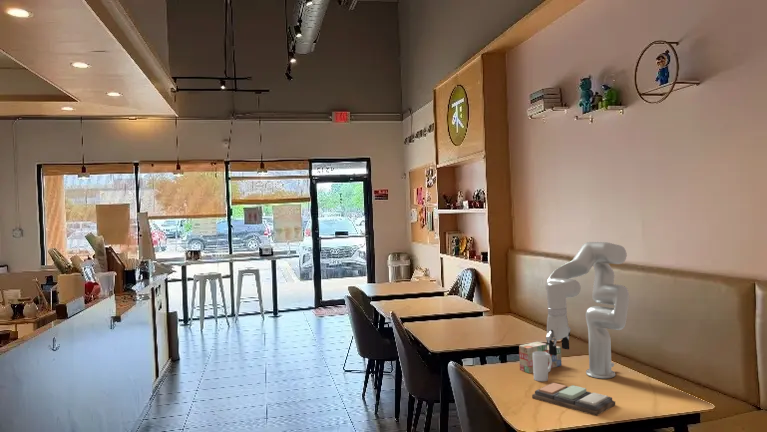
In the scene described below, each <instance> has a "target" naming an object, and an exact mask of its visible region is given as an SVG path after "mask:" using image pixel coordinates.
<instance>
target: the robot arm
mask: <svg viewBox="0 0 767 432" xmlns="http://www.w3.org/2000/svg"><path fill="white" fill-rule="evenodd" d="M627 256H628V255H627V250H626V248H625V247H624V246H622V245H620V244H615V243H611V242H605V241H586V242H585V243H582V245H581V246H580V247H579V249H578V251H577V252H576V253H575V255H574V256H573V258H572V260H571V261H568V262H566V263H564V264H562V265H560V266H558V267H556V268H555V269H554V270H553V271H552V272H551V274H550V275H549V276H548V278H547V280H546V282H545V290H546V301H547V317H546V318H547V320H546V336H545V339H546V344H547V346H548V345H549V354H550V355H555V356H556V355H557V348H556V346H557V345H556V344H557V341H561V349H563V350H570V335H571V327H569V321H568V313H567V312H568V311H567V298H574V297H576V296H578V295H579V294H580V292H581V284H580V282H579V281H578V280H576V279H574V278H577V277H582V276H585V275H587V274H588V273H589V272H590V271H591V269H592V268H593V270H594V279H593V284H592V285H593V287H592V294H591V296H592V297H591V298H592V300H593V301H594V302H595V303H597V304H602V305H608V306H609V305H610V306H613V307H608V306H599V305H593V306H589V307H588V308H587V309H586V311H585V321H586V322H585V323H586V325H587V333H588V337H587V338H588V359H589V362H588V363H589V364H588V365H589V367H588V369H586V370H585V373H586V375H587V376H589V377H591V378H595V379H611V378H614V377H616V372H615V371H614V370H612V368H613V367H614V366H615V363H614V362H612V346H611V344H612V343H611V340H612V339H611V335H610V332H609V330H616V331H621V330H623V329H624V328H625V326H626V324H627V318H628V311H629V303H630V293H629V290H628V288H627V287H626V286H624V285H622V284H616V283H614V281H615V272H614V270H613V268H612V266H611V264H613V265H622V264H623V263H624V262H625V261H626V260H627Z"/></svg>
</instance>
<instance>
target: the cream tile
mask: <svg viewBox="0 0 767 432" xmlns="http://www.w3.org/2000/svg"><path fill="white" fill-rule="evenodd" d="M608 397H609V396H608V395H606V394H602V393H598V392H591V394H589V395H588V396H586V397H584V398H582V399H580V402H582V403H586V404H590V405H593V406H595V405H597V404H599V403H601V402H602V401H604V400H606V399H608Z"/></svg>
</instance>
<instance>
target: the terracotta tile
mask: <svg viewBox="0 0 767 432" xmlns="http://www.w3.org/2000/svg"><path fill="white" fill-rule="evenodd" d="M551 383H552V384H551ZM551 383H549V384H546V385H545V386H542V387H543V388H542V387H540V388H541V389H540V388H539V391H540V392H544V393H548V394H552V395H553V394H555V393H557V392H559V391H561V390H563V389H565V388H566V386H567V385H564V384H559V383H556V382H551Z"/></svg>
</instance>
